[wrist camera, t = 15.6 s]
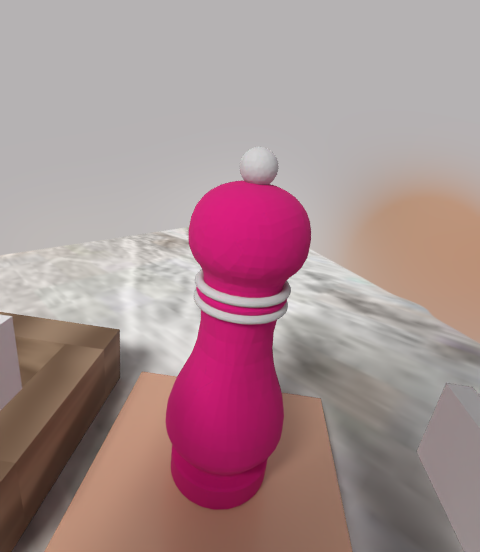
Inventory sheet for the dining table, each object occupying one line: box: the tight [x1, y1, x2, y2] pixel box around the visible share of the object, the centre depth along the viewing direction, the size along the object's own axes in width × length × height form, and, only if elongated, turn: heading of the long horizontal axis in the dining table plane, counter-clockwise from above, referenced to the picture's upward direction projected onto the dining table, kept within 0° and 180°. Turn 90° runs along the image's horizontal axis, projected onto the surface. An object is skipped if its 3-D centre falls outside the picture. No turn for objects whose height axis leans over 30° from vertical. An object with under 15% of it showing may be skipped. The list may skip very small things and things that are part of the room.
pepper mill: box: [165, 147, 311, 510], centre depth 19 cm, size 7×7×20 cm
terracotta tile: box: [44, 372, 352, 552], centre depth 23 cm, size 16×16×1 cm
